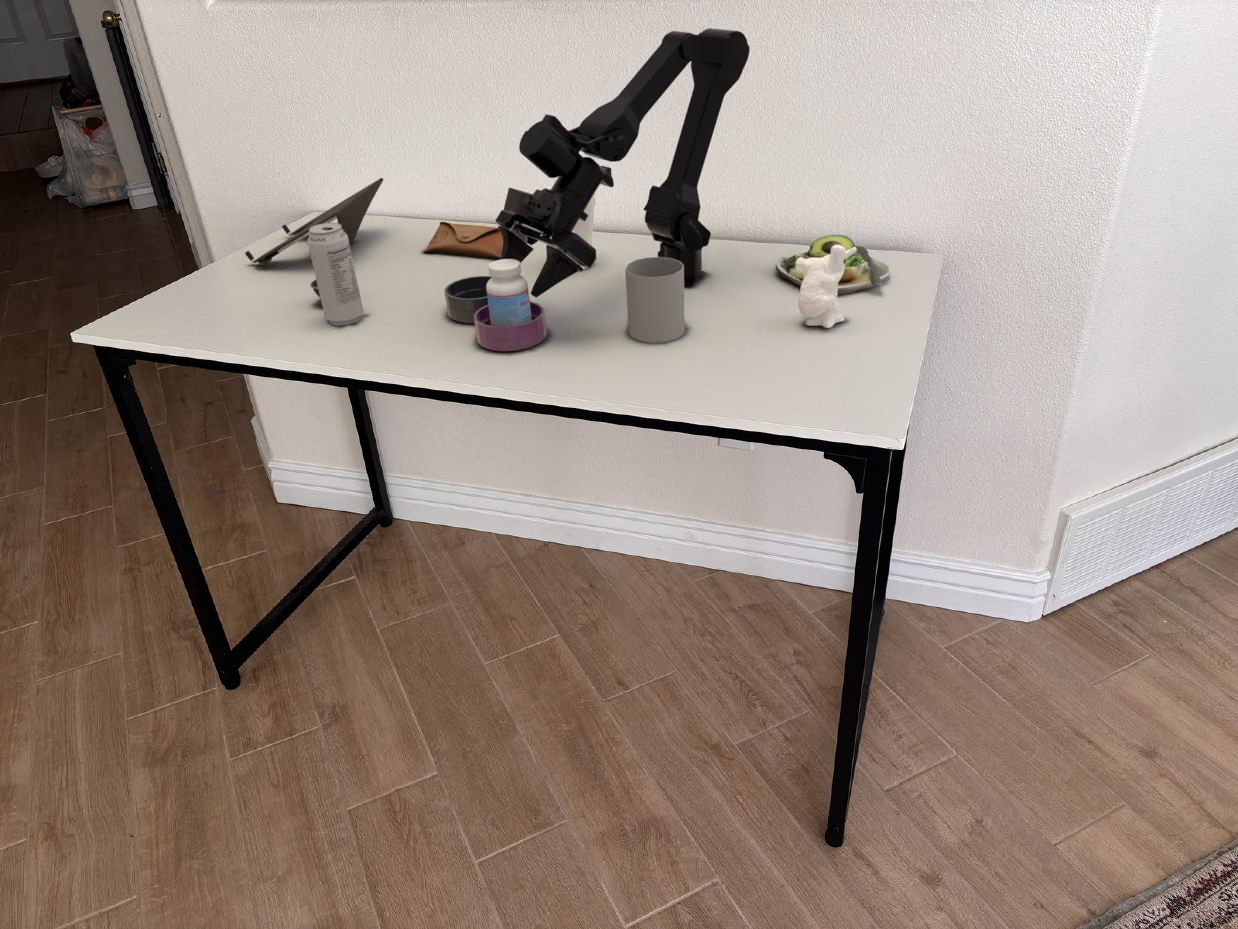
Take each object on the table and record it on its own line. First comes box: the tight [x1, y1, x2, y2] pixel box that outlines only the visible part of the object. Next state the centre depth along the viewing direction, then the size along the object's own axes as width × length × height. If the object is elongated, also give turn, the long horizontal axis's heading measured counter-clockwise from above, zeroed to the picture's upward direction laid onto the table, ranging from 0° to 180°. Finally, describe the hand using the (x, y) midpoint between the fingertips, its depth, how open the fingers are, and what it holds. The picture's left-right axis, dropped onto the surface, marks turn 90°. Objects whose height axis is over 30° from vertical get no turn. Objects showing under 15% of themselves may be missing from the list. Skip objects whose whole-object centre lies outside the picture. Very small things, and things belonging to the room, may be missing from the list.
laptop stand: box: [244, 177, 384, 266], centre depth 177 cm, size 23×23×9 cm
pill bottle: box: [486, 259, 532, 327], centre depth 136 cm, size 6×6×11 cm
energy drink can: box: [307, 222, 364, 326], centre depth 145 cm, size 6×6×15 cm
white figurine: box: [795, 245, 857, 329], centre depth 135 cm, size 8×7×12 cm
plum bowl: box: [474, 300, 548, 352], centre depth 138 cm, size 10×10×4 cm
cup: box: [624, 256, 686, 344], centre depth 136 cm, size 8×8×10 cm
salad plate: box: [775, 234, 891, 295], centre depth 152 cm, size 19×18×5 cm
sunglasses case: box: [422, 221, 503, 259], centre depth 174 cm, size 18×7×7 cm
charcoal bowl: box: [444, 275, 492, 324], centre depth 147 cm, size 10×10×4 cm
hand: (515, 287), depth 136 cm, fingers open, 9 cm apart
